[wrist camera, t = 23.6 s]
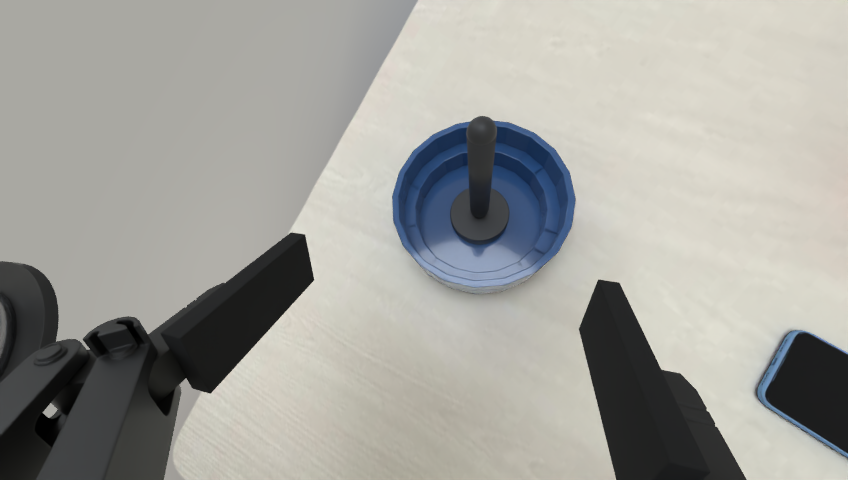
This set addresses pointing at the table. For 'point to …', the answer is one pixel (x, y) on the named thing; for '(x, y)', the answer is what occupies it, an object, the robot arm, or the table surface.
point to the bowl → (512, 177)
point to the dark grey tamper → (480, 189)
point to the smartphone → (810, 387)
